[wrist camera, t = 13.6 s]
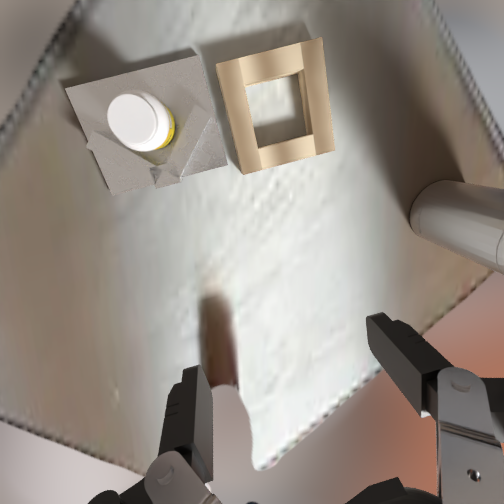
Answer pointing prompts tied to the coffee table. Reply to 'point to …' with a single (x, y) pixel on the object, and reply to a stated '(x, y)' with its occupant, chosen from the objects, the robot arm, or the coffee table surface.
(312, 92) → the square frame block
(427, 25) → the coffee table surface
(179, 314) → the coffee table surface
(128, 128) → the supplement bottle
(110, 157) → the v block
